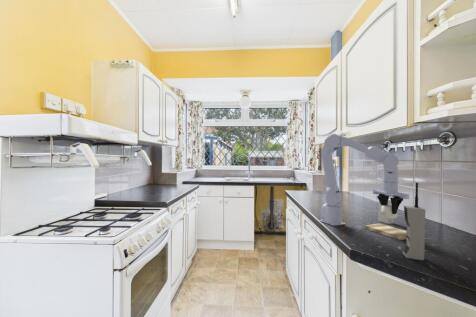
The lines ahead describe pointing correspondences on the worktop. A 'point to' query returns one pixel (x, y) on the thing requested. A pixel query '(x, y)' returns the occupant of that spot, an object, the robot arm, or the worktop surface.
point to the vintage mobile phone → (415, 230)
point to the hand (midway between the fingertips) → (389, 212)
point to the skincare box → (385, 220)
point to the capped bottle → (387, 212)
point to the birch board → (387, 231)
